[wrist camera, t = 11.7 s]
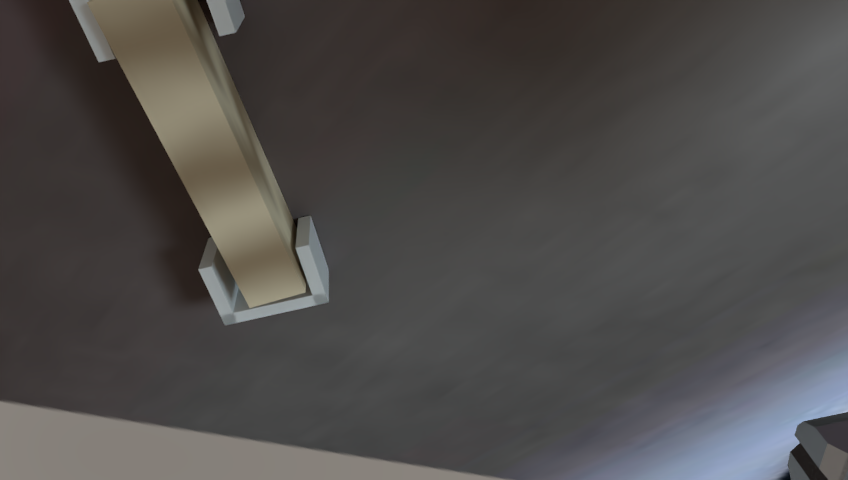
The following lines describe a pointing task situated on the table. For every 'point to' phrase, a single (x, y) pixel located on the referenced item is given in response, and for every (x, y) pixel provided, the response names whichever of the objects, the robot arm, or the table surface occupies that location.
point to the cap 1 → (222, 9)
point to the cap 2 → (238, 310)
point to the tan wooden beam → (207, 138)
